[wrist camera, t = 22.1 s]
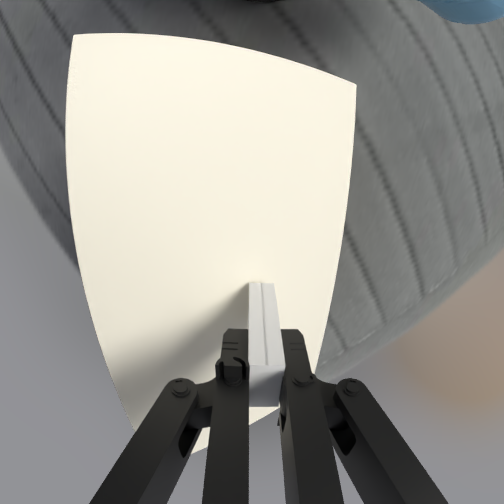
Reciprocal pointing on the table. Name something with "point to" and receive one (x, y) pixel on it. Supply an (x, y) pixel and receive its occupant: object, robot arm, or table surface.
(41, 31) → the table surface
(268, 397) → the robot arm
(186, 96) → the lid
